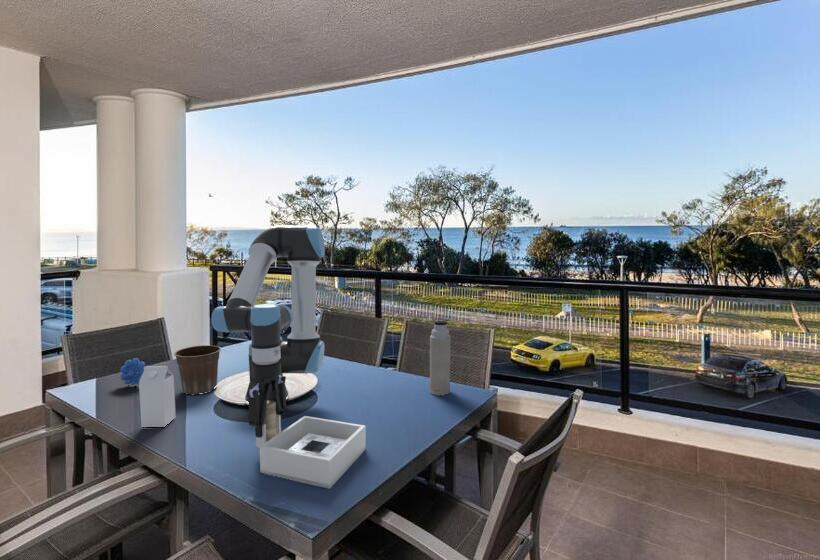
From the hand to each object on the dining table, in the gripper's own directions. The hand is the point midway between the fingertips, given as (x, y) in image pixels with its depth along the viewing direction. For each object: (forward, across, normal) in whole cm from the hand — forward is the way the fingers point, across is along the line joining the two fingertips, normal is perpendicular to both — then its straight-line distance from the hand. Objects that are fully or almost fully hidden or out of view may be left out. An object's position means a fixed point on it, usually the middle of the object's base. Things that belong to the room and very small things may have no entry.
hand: (269, 441), depth 116 cm
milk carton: (+3, +3, +45) cm, 45 cm away
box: (+3, 0, -15) cm, 15 cm away
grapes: (+3, +26, +85) cm, 89 cm away
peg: (+3, 0, 0) cm, 3 cm away
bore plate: (+3, 0, -15) cm, 15 cm away
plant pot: (+3, +31, +57) cm, 65 cm away
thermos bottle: (+3, +61, -33) cm, 69 cm away
